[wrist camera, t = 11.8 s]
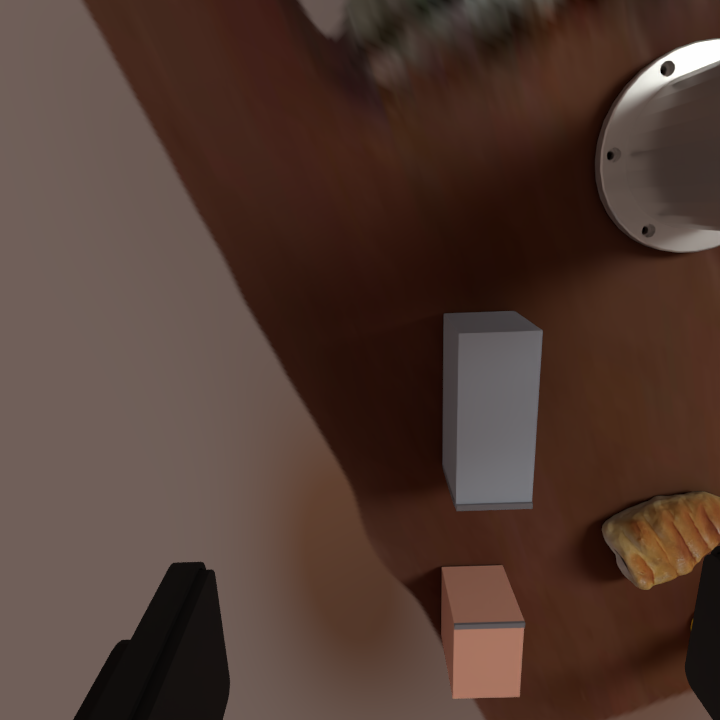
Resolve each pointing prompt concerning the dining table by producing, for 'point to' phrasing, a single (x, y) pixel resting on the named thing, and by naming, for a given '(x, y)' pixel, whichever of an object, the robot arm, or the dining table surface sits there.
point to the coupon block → (490, 409)
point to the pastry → (663, 536)
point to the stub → (481, 632)
